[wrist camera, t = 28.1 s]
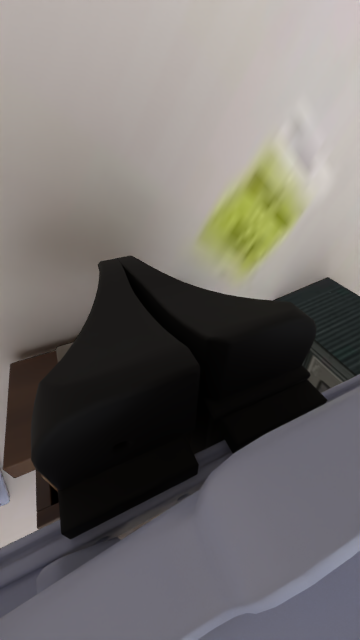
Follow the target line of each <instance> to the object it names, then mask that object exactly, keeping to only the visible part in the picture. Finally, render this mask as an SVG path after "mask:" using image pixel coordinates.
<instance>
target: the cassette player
mask: <svg viewBox="0 0 360 640" xmlns="http://www.w3.org/2000/svg"><path fill="white" fill-rule="evenodd" d="M274 301H286V302H292V303H293V304H294V305H295V306H297V307H298V308H299V309H301V310H302V311H303V312H304V313H306V314H307V315H308V316H309V317H311V318H312V319H313V320H314V321H315V324H316V337H315V339H314V342H313V345H312V346H311V348H310V350H309V352H308V354H307V356H306V358H305V360H304V362H303V364H302V366H303V367H304V368H306V369H307V370H308V371H309V372H310V375H311V376H310V377H309V379H307V380H308V381H309V382H310V383H311V384H312V385H313V386H314V387H315V388H316V389H317V390H318V391H319V392H320V393H322V392H324V391H326V390H328V389H330V388H332V387H334V386H336V385H338V384H341V383H343V382H345V381H347V380H349V379H351V378H353V377H355V376H357V375H359V374H360V296H358V295H357V294H355V293H353V292H352V291H350V290H348V289H347V288H345V287H343V286H342V285H340V284H338V283H337V282H335V281H333V280H332V279H330V278H326V279H323V280H321V281H319V282H316V283H314V284H312V285H309V286H307V287H305V288H302V289H300V290H298V291H295V292H293V293H291V294H288V295H286V296H283V297H281V298H279V299H276V300H274Z"/></svg>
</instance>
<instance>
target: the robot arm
mask: <svg viewBox="0 0 360 640" xmlns="http://www.w3.org/2000/svg"><path fill="white" fill-rule="evenodd" d="M98 267H99V283H98V289H97V293H96V297H95V300H94V303H93V306H92V309H91V311H90V314H89V316H88V318H87V320H86V322H85V324H84V326H83V328H82V330H81V332H80V333H79V335H78V337H77V338H76V340H75V341H74V342H73V344H72V345H71V347H70V348H69V349H68V351H67V352H66V354H65V355H64V356H63V358H62V359H61V360H60V361H59V362H58V363H57V364H56V365H55V367H54V368H53V369H52V370H51V371H50V372H49V373H48V374H47V375H46V376H45V377H44V378H43V379H42V380H41V381H40V383H39V385H38V388H37V393H36V397H35V402H34V407H33V414H32V421H31V461H32V463H33V465H34V467H35V468H36V470H37V471H39V472H40V473H41V474H42V475H43V476H44V477H45V478H46V479H47V480H48V481H49V482H50V483H51V484H52V485H53V486H54V487H55V488H56V489H57V490H58V499H59V513H60V520H58V521H56V522H54V523H52V524H50V525H47V526H45V527H43V528H41V529H39V530H37V531H35V532H33V533H31V534H29V535H27V536H25V537H23V538H21V539H19V540H17V541H14V542H12V543H10V544H8V545H6V546H4V547H2V548H0V640H360V374H359V375H357V376H355V377H353V378H351V379H349V380H347V381H345V382H343V383H341V384H338V385H336V386H334V387H332V388H330V389H328V390H326V391H324V392H322V393H320V392H319V391H318V390H317V389H316V388H315V387H314V386H313V385H312V384H311V383H310V382H309V381H308V380H307V379H309V377H310V376H311V375H310V372H309V371H308V370H307V369H306V368H304V367H303V366H302V364H303V362H304V360H305V358H306V356H307V354H308V352H309V350H310V348H311V346H312V345H313V342H314V339H315V337H316V324H315V321H314V320H313V319H312V318H311V317H309V316H308V315H307V314H306V313H304V312H303V311H302V310H301V309H299V308H298V307H297V306H295V305H294V304H293V303H292V302H286V301H272V300H258V299H250V298H243V297H237V296H231V295H226V294H222V293H217V292H213V291H209V290H206V289H202V288H199V287H196V286H193V285H190V284H187V283H185V282H182V281H180V280H177V279H175V278H173V277H171V276H168V275H166V274H164V273H162V272H160V271H158V270H157V269H155V268H153V267H151V266H149V265H147V264H146V263H144V262H142V261H140V260H139V259H137V258H135V257H133V256H126V257H121V258H116V259H111V260H106V261H101V262H100V263H99V264H98ZM9 502H10V496H9V493H8V490H7V487H6V484H5V481H4V478H3V475H2V472H1V469H0V506H2V505H5V504H7V503H9ZM166 510H167V511H166ZM163 512H164V513H163ZM161 513H162V514H161ZM159 514H160V515H159ZM157 515H159V516H157ZM155 516H157V517H156V518H154V517H155ZM152 518H154V519H153V520H151V521H150V522H148V523H147V524H145V525H143V526H142V527H140V528H139V529H137V530H136V531H134V532H133V533H131V534H130V535H128V536H126V537H125V538H123V539H122V540H121V539H119V538H118V536H120V535H122V534H124V533H126V532H128V531H129V530H131V529H133V528H135V527H137V526H139V525H141V524H142V523H144V522H146V521H148V520H150V519H152Z"/></svg>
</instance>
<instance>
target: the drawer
mask: <svg viewBox="0 0 360 640" xmlns="http://www.w3.org/2000/svg"><path fill="white" fill-rule="evenodd" d="M72 344H73V343H70V344H66V345H63V346H59V347H57V349H56V351H53V352H49V353H46V354H42V355H39V356H35V357H32V358H28V359H25V360H21V361H18V362H14V363H11V364H10V375H9V389H8V404H7V418H6V432H5V447H4V461H3V470H4V471H6V472H7V473H8V474H10V475H11V476H12V477H13V478H17V477H19V476H21V475H24V474H26V473H29V472H31V471H34V470H36V468H35V467H34V465H33V463H32V461H31V421H32V414H33V407H34V402H35V397H36V393H37V388H38V385H39V383H40V381H41V380H42V379H43V378H44V377H45V376H46V375H47V374H48V373H49V372H50V371H51V370H52V369H53V368H54V367H55V365H56V364H57V363H58V362H59V361H60V360H61V359H62V358H63V356H64V355H65V354H66V352H67V351H68V349H69V348H70V347H71V345H72ZM41 476H42V478H43V479H45V480H46V481H47V482H48V483H49V484H50V485H51V486H52V487H53V488H54V489H55V490H56V491H57V492H58V490H57V489H56V488H55V487H54V486H53V485H52V484H51V483H50V482H49V481H48V480H47V479H46V478H45V477H44V476H43V475H42V474H41Z"/></svg>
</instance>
